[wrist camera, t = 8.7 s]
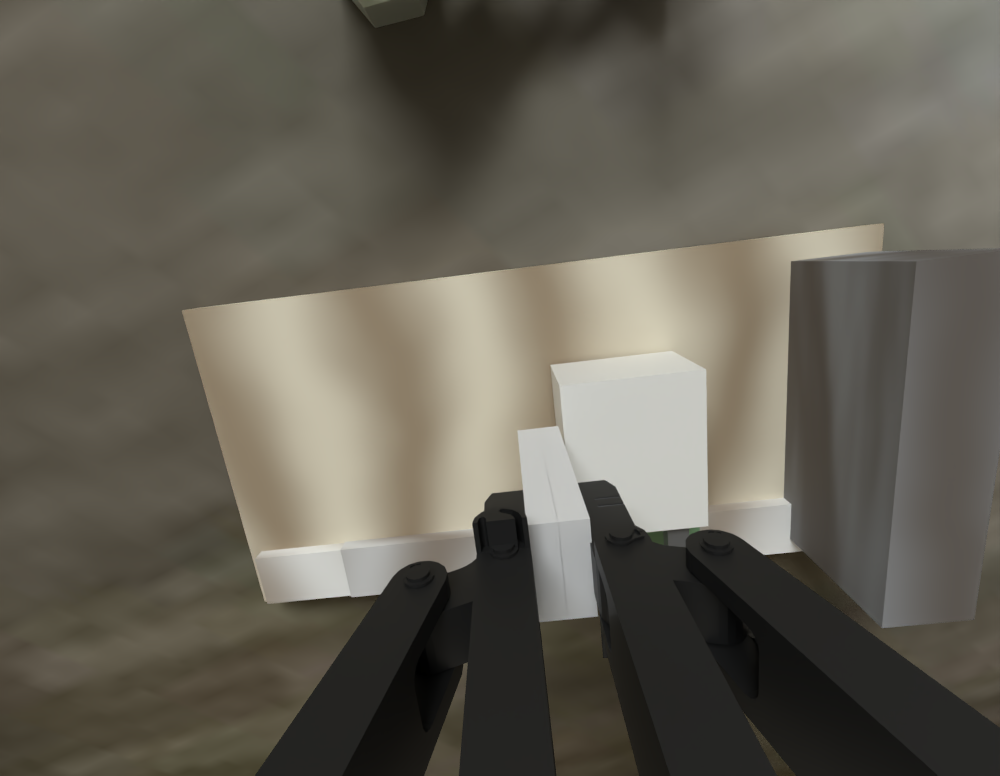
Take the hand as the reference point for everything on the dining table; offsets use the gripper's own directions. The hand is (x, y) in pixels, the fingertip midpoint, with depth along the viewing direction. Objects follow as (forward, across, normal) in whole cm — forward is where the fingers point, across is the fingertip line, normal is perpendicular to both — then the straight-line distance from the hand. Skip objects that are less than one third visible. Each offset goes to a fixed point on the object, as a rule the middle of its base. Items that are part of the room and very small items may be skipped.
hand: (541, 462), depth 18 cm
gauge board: (+4, 0, 0) cm, 4 cm away
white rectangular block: (+3, +3, -1) cm, 5 cm away
